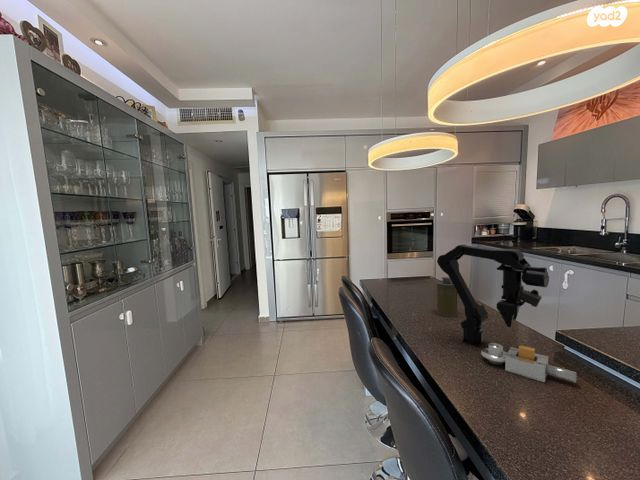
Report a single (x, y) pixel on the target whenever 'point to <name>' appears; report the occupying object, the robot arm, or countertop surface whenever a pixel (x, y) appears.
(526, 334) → the countertop surface
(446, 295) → the canister
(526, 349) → the wedge
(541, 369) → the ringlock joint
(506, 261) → the robot arm
